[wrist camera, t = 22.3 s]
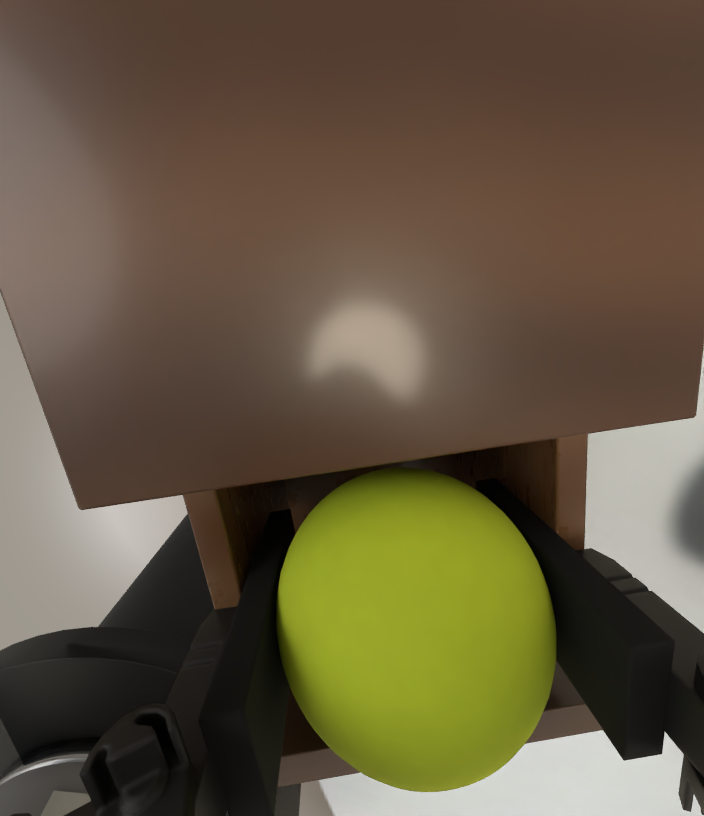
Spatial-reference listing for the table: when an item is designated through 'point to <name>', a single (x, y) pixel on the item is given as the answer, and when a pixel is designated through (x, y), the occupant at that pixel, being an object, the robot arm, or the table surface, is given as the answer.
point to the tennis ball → (416, 629)
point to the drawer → (251, 504)
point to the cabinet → (347, 229)
